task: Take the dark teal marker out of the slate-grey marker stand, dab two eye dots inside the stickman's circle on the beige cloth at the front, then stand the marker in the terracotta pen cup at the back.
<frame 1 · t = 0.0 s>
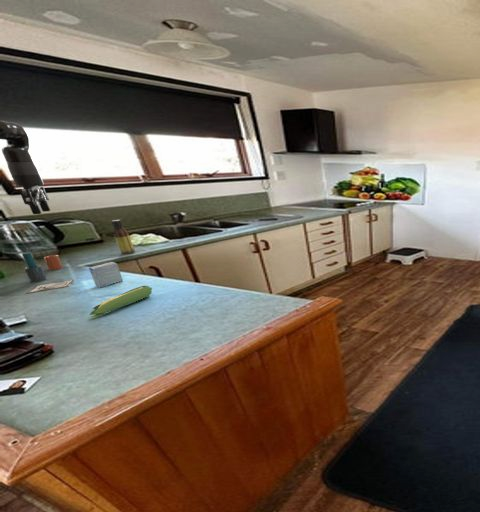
hand: (42, 212, 118), 30 cm above the counter, tool pointing down, fingers open, 8 cm apart
pen cup: (56, 269, 137), on the counter
medicine box: (109, 284, 119), on the counter
edible corn: (123, 306, 100), on the counter
marker: (38, 280, 123), resting on marker stand
beige cloth: (52, 287, 116), on the counter
marker stand: (39, 281, 123), on the counter
sauce bottle: (128, 253, 162), on the counter
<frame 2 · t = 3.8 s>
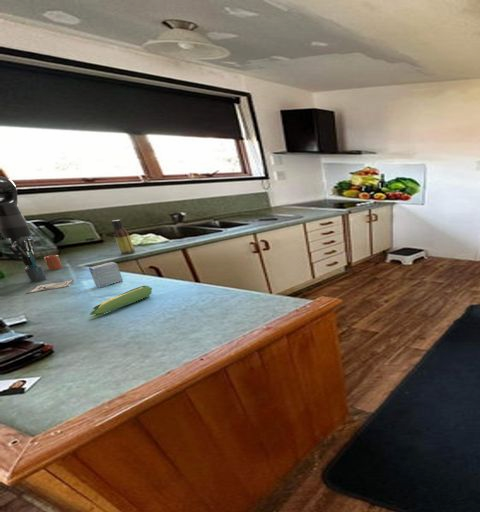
hand: (31, 263, 120), 9 cm above the counter, tool pointing down, fingers closed on marker, 2 cm apart
marker: (38, 280, 123), point 1 cm above the counter, touching gripper
everything else where it was.
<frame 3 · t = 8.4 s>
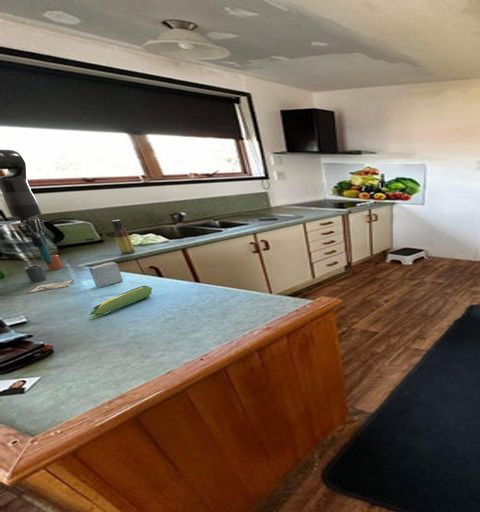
hand: (41, 245, 112), 18 cm above the counter, tool pointing down, fingers closed on marker, 2 cm apart
marker: (49, 263, 115), point 10 cm above the counter, touching gripper
everything else where it was.
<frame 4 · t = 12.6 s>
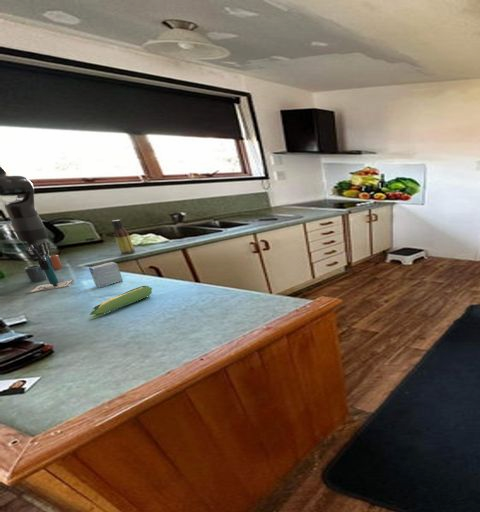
hand: (47, 268, 113), 9 cm above the counter, tool pointing down, fingers closed on marker, 2 cm apart
marker: (55, 285, 116), point 1 cm above the counter, touching gripper
everything else where it was.
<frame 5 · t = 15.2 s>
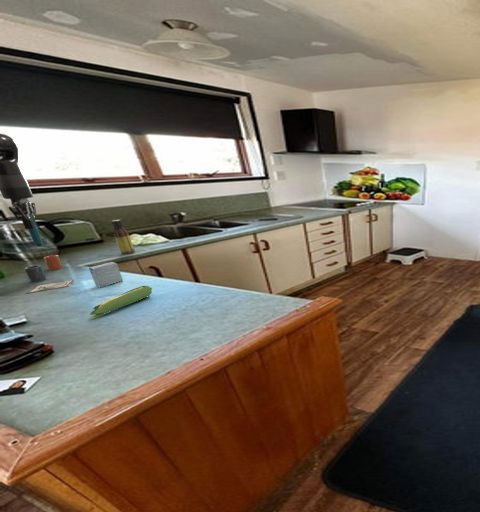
hand: (31, 227, 115), 25 cm above the counter, tool pointing down, fingers closed on marker, 2 cm apart
marker: (39, 245, 118), point 17 cm above the counter, touching gripper
everything else where it was.
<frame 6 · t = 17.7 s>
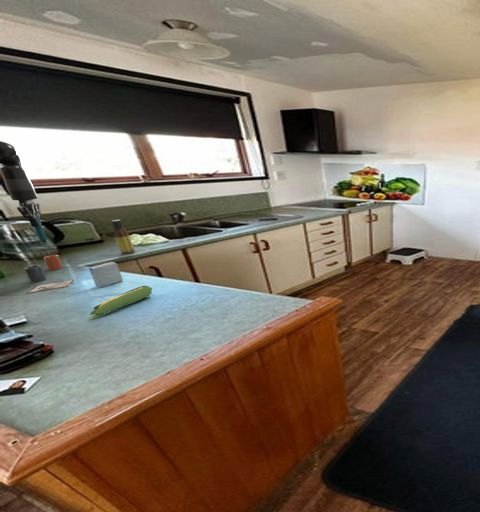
hand: (37, 225, 129), 23 cm above the counter, tool pointing down, fingers closed on marker, 2 cm apart
marker: (44, 242, 132), point 14 cm above the counter, touching gripper
everything else where it was.
when the fingers open (9 cm above the counter, at t = 21.7 s): marker stays where it is, resting on pen cup.
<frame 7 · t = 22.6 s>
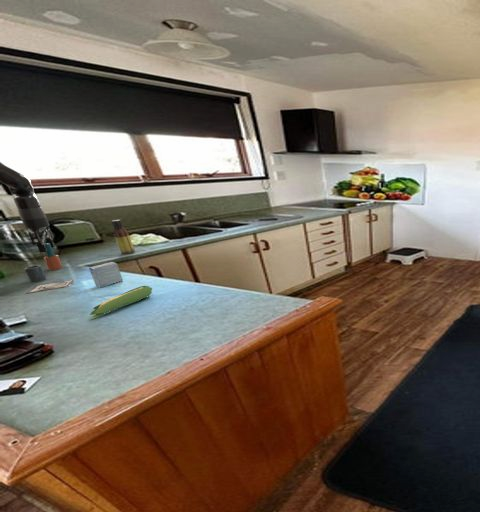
hand: (47, 249, 134), 10 cm above the counter, tool pointing down, fingers open, 8 cm apart
marker: (56, 268, 137), resting on pen cup
everything else where it was.
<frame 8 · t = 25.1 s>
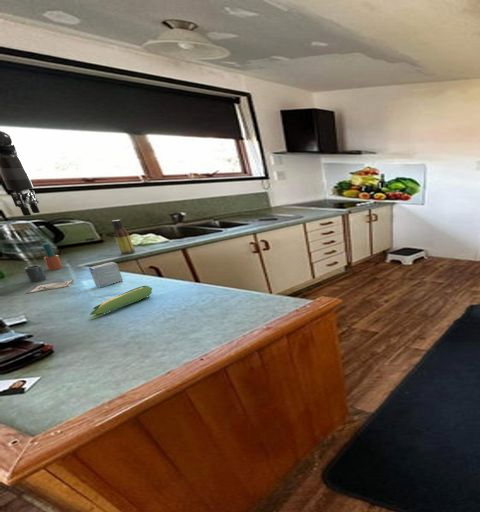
hand: (32, 214, 128), 28 cm above the counter, tool pointing down, fingers open, 8 cm apart
nothing on the counter moved.
at the end: marker 0.2 cm off-centre in the pen cup, point 0.5 cm above the pen cup's base; marker tilted 0°; the gripper is holding nothing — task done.
